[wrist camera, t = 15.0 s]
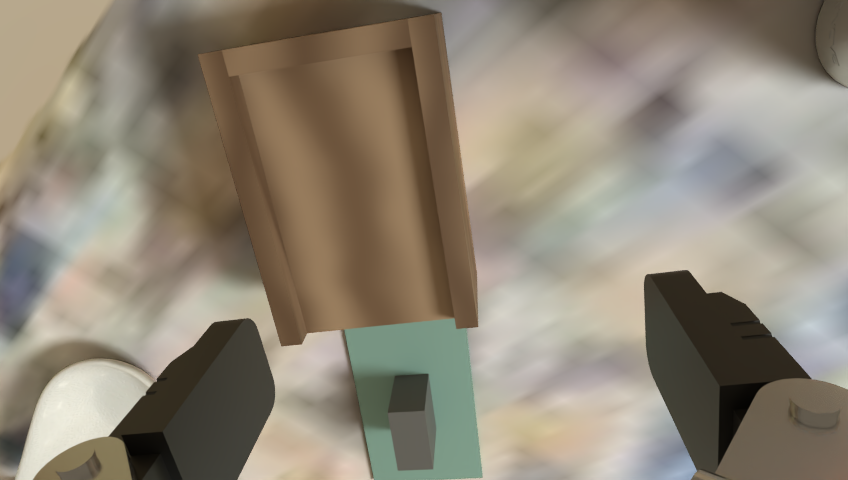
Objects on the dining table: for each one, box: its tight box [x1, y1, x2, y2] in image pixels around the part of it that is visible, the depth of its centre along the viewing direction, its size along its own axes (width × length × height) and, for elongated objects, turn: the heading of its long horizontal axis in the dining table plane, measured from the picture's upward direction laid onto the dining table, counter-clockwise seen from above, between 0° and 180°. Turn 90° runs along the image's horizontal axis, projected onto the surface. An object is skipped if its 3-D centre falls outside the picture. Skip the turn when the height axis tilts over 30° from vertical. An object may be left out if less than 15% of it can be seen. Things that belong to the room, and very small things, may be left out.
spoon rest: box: [14, 358, 156, 480], centre depth 54 cm, size 24×12×7 cm, turn 138°
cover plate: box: [344, 318, 482, 480], centre depth 50 cm, size 10×18×6 cm, turn 7°
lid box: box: [198, 13, 478, 346], centre depth 41 cm, size 14×20×8 cm
